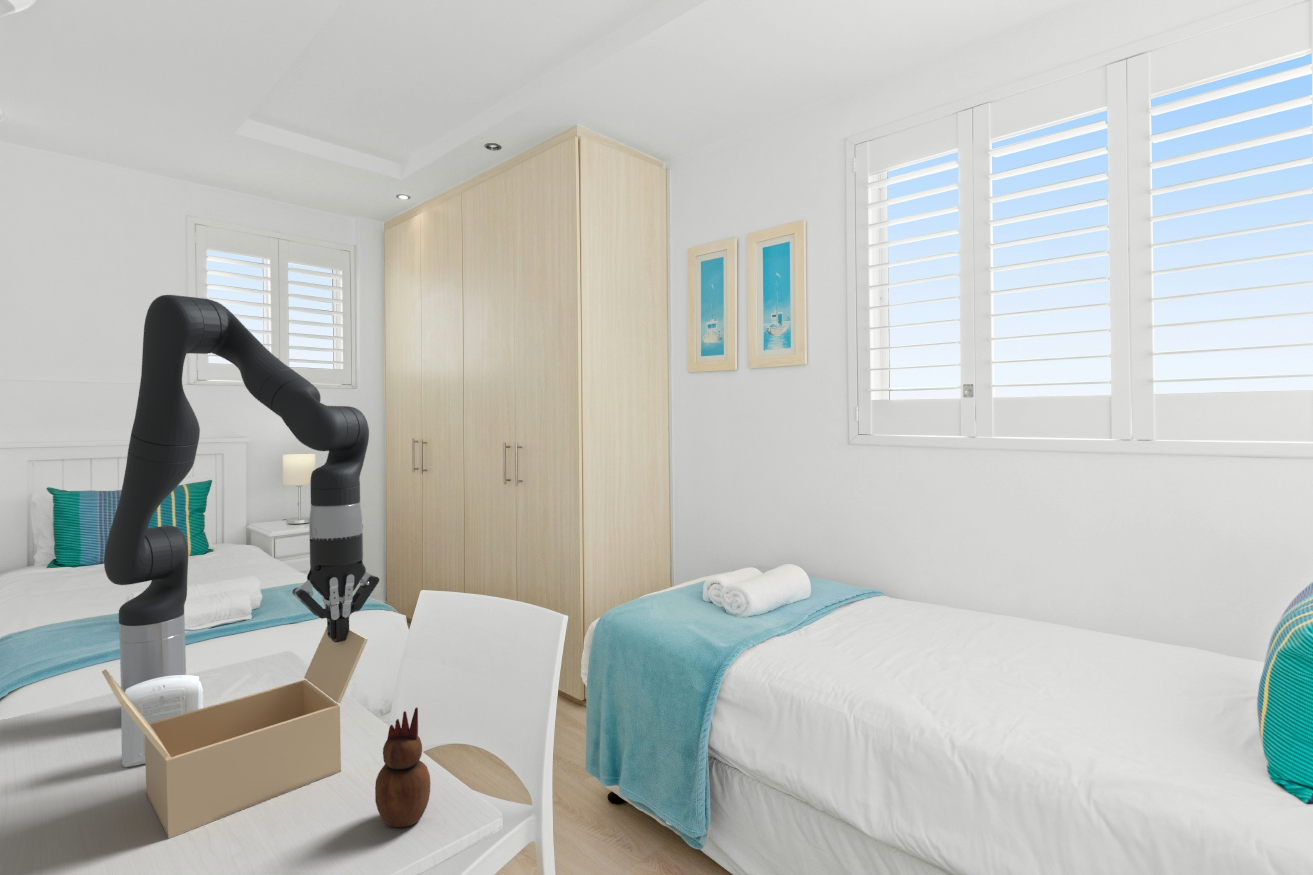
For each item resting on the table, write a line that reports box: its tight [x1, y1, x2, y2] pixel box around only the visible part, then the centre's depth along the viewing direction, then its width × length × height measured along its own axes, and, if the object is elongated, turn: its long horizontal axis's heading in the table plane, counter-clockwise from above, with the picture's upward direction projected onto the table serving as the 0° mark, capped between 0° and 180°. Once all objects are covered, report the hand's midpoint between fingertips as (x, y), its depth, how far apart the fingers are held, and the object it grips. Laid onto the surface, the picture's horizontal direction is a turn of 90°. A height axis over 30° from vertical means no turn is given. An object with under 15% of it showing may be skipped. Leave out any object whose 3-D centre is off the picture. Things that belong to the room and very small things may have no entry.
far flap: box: [303, 627, 369, 704], centre depth 103 cm, size 14×10×1 cm
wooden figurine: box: [374, 707, 431, 828], centre depth 85 cm, size 7×6×15 cm
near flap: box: [101, 669, 169, 759], centre depth 84 cm, size 14×10×1 cm
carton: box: [144, 679, 342, 839], centre depth 94 cm, size 14×21×10 cm, turn 137°
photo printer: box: [120, 674, 204, 768], centre depth 101 cm, size 10×4×12 cm, turn 123°
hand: (338, 640), depth 103 cm, fingers closed
